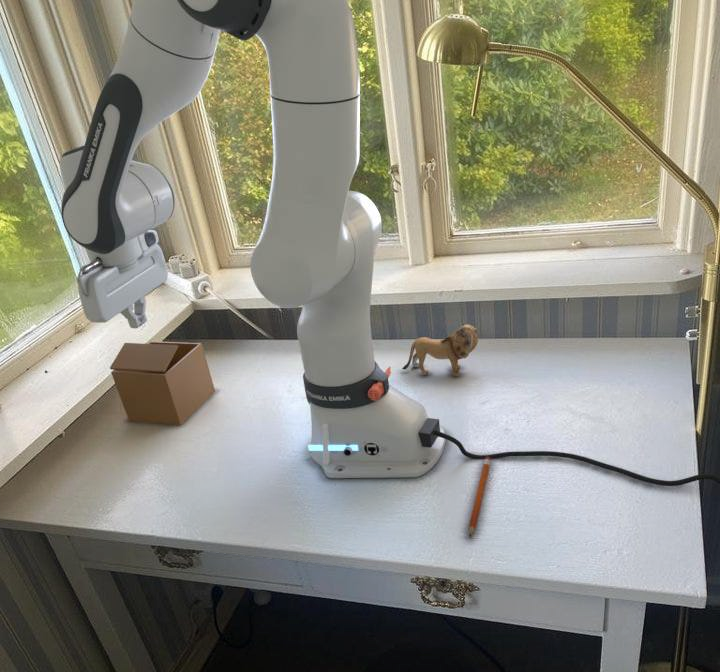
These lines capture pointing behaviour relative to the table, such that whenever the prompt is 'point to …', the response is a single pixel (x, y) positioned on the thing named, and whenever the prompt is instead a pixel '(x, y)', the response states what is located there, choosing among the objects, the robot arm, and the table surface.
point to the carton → (167, 387)
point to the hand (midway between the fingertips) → (139, 325)
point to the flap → (144, 357)
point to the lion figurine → (444, 348)
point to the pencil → (479, 496)
